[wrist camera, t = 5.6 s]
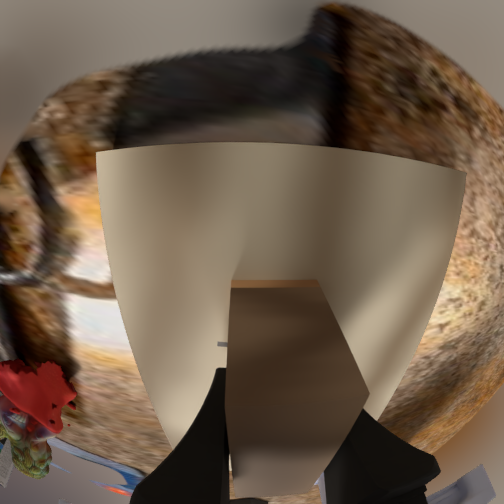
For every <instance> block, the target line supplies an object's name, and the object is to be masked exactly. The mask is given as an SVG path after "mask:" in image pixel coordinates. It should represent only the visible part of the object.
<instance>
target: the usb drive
mask: <svg viewBox="0 0 504 504" xmlns="http://www.w3.org/2000/svg"><path fill="white" fill-rule="evenodd" d="M230 504H268V502H265V501H261V500H257V499H253V498H246V499H239V500H230Z"/></svg>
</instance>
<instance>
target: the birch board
mask: <svg viewBox="0 0 504 504" xmlns="http://www.w3.org/2000/svg"><path fill="white" fill-rule="evenodd" d="M96 164H97V179H98V190H99V200H100V209H101V217H102V224H103V231H104V237H105V243H106V249H107V255H108V260H109V265H110V270H111V275H112V279H113V284H114V288H115V292H116V296H117V300H118V304H119V308H120V312H121V316H122V319H123V323H124V326H125V330H126V333H127V336H128V340H129V343H130V346H131V349H132V352H133V355H134V358H135V361H136V364H137V367H138V370H139V372H140V375H141V378H142V381H143V383H144V386H145V388H146V391H147V393H148V396H149V398H150V401H151V403H152V406H153V408H154V410H155V413H156V415H157V417H158V419H159V422H160V424H161V426H162V428H163V430H164V432H165V434H166V437H167V439H168V441H169V443H170V445H171V447H172V449H173V450H174V448H175V447H176V446H177V444H178V443H179V442H180V441H181V439H182V438H183V436H184V435H185V434H186V432H187V431H188V429H189V428H190V426H191V424H192V423H193V421H194V419H195V418H196V416H197V414H198V412H199V410H200V409H201V407H202V405H203V403H204V400H205V398H206V396H207V394H208V392H209V389H210V387H211V384H212V381H213V378H214V375H215V371H216V369H217V368H218V367H221V368H226V364H227V344H228V325H229V307H230V291H231V280H317V281H318V283H319V285H320V287H321V289H322V291H323V293H324V295H325V297H326V299H327V301H328V303H329V305H330V307H331V309H332V311H333V313H334V316H335V318H336V320H337V322H338V324H339V326H340V328H341V330H342V332H343V335H344V337H345V339H346V341H347V343H348V345H349V347H350V350H351V352H352V354H353V356H354V358H355V361H356V363H357V365H358V367H359V370H360V372H361V374H362V376H363V379H364V381H365V383H366V386H367V388H368V390H369V393H370V395H369V397H368V399H367V401H366V403H365V405H364V407H363V408H364V409H365V410H366V411H367V412H368V413H369V414H370V415H371V416H372V417H373V418H374V419H375V420H376V421H377V420H378V418H379V417H380V415H381V414H382V412H383V410H384V409H385V407H386V405H387V404H388V402H389V401H390V399H391V397H392V395H393V394H394V392H395V390H396V388H397V387H398V385H399V383H400V381H401V379H402V377H403V376H404V374H405V372H406V370H407V368H408V366H409V364H410V362H411V360H412V358H413V356H414V354H415V352H416V350H417V347H418V345H419V343H420V341H421V339H422V336H423V334H424V332H425V329H426V327H427V324H428V322H429V320H430V317H431V314H432V312H433V309H434V307H435V304H436V301H437V298H438V295H439V293H440V290H441V287H442V284H443V281H444V277H445V274H446V271H447V268H448V264H449V261H450V257H451V253H452V249H453V245H454V241H455V237H456V233H457V228H458V224H459V219H460V214H461V208H462V202H463V196H464V190H465V182H466V174H467V173H466V172H463V171H459V170H455V169H451V168H447V167H443V166H439V165H435V164H431V163H426V162H422V161H417V160H412V159H407V158H402V157H396V156H391V155H385V154H379V153H372V152H366V151H359V150H351V149H343V148H334V147H324V146H313V145H300V144H284V143H260V142H206V143H182V144H166V145H153V146H142V147H133V148H124V149H116V150H109V151H102V152H96ZM229 471H232V468H231V460H230V456H229Z"/></svg>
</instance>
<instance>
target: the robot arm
mask: <svg viewBox="0 0 504 504" xmlns="http://www.w3.org/2000/svg"><path fill="white" fill-rule="evenodd" d="M225 387H226V368H221V367H218V368H217V369H216V371H215V375H214V378H213V381H212V384H211V387H210V389H209V392H208V394H207V396H206V398H205V400H204V403H203V405H202V407H201V409H200V410H199V412H198V414H197V416H196V418H195V419H194V421H193V423H192V424H191V426H190V428H189V429H188V431H187V432H186V434H185V435H184V436H183V438H182V439H181V441H180V442H179V443H178V444H177V446H176V447H175V448H174V450H173V451H172V452H171V453H170V454H169V455H168V457H167V458H166V459H165V460H164V461H163V462H162V463H161V464H160V465H159V466H158V467H157V468H156V469H155V470H154V471H153V472H152V473H151V474H149V475H148V476H147V477H146V478H145V479H144V480H142V481H141V482H140V483H139V484H138V485H137V486H136V488H135V490H134V492H133V494H132V496H131V500H130V504H230V495H229V456H230V452H229V443H228V434H227V424H226V414H225ZM440 472H441V470H440V468H439V465H438V463H437V461H436V459H435V457H434V456H433V455H431V454H428V453H426V452H424V451H422V450H419V449H417V448H415V447H413V446H412V445H410V444H408V443H406V442H405V441H403V440H402V439H400V438H399V437H397V436H396V435H394V434H393V433H391V432H390V431H388V430H387V429H386V428H385V427H383V426H382V425H381V424H380V423H379V422H377V421H376V420H375V419H374V418H373V417H372V416H371V415H370V414H369V413H368V412H367V411H366V410H365V409H364V408H363V409H362V410H361V412H360V414H359V416H358V418H357V419H356V421H355V423H354V425H353V426H352V428H351V430H350V432H349V433H348V435H347V436H346V438H345V440H344V441H343V443H342V445H341V446H340V448H339V449H338V451H337V452H336V454H335V455H334V457H333V458H332V460H331V461H330V463H329V464H328V466H327V467H326V469H325V470H324V471H323V473H322V474H321V475H320V477H319V478H318V480H317V481H316V482H315V484H318V485H319V490H320V495H321V501H322V504H487V503H489V502H490V501H491V500H492V499H494V498H495V497H496V494H495V492H494V489H493V487H492V484H491V482H490V480H489V478H488V475H487V473H486V471H485V469H484V467H483V465H482V464H480V465H479V466H477V467H476V468H474V469H473V470H471V471H470V472H468V473H467V474H465V475H464V476H462V477H461V478H460V479H458V480H457V481H456V482H454V483H452V484H451V485H449V486H447V487H445V488H444V489H442V490H440V491H438V492H436V493H434V494H432V495H430V496H428V497H426V496H425V494H424V492H425V491H426V490H427V489H426V486H425V484H427V483H428V482H430V481H431V480H432V479H434V478H435V477H436V476H437V475H439V473H440ZM58 504H73V503H70V502H68V501H66V500H63V499H59V502H58Z"/></svg>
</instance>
